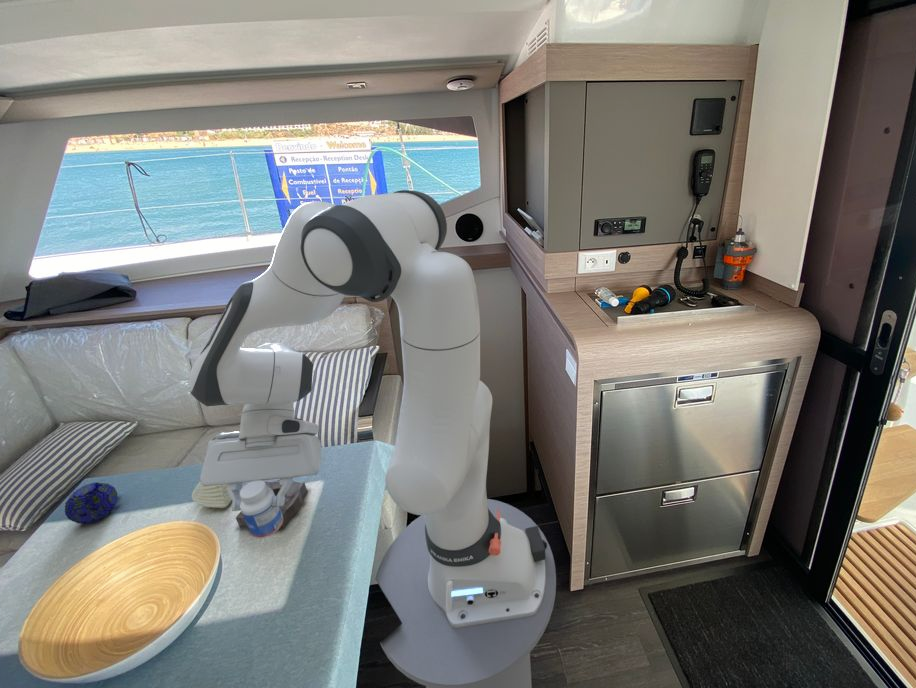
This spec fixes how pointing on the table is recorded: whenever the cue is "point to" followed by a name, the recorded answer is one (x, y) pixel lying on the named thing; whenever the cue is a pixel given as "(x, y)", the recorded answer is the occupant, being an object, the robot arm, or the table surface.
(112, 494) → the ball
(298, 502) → the brown candle holder
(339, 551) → the table surface
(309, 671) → the table surface
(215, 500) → the seashell
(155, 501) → the table surface
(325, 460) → the table surface
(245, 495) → the pill bottle
